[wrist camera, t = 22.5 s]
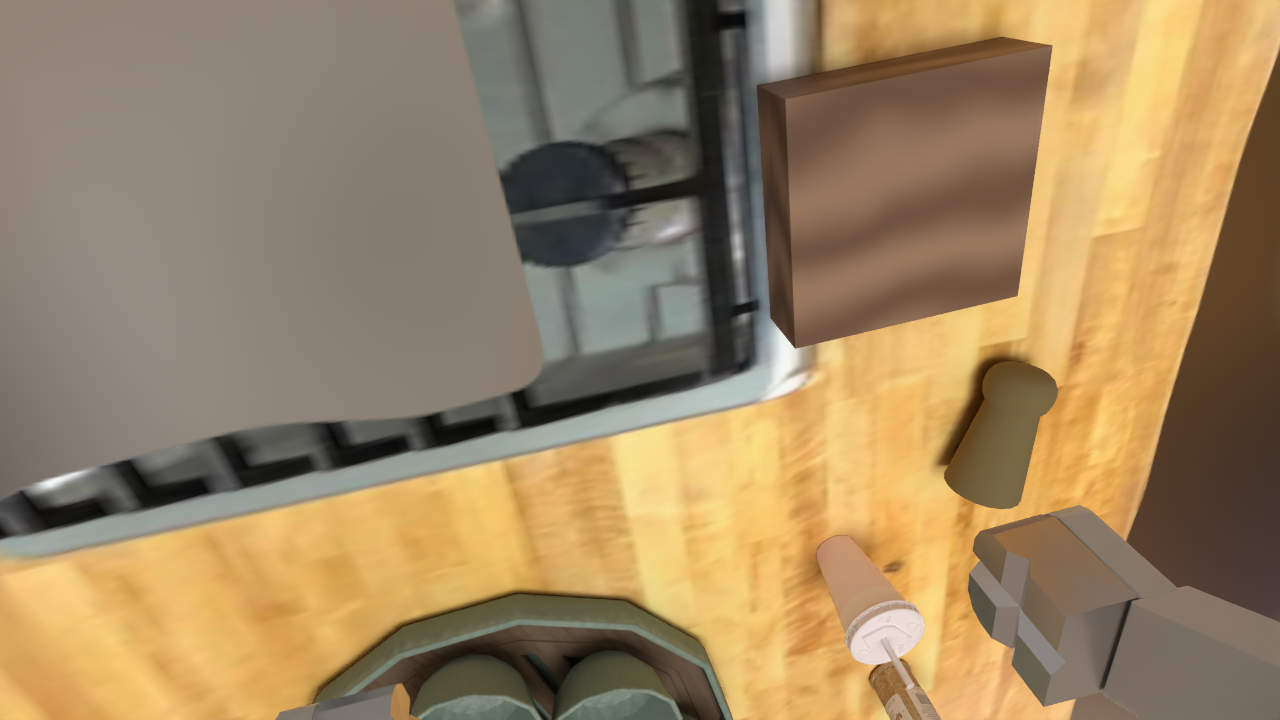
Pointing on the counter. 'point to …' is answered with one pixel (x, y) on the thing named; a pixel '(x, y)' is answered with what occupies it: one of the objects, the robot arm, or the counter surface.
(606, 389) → the counter surface
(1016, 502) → the brown tall round piece
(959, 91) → the block
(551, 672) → the tea set
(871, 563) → the smoothie
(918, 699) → the sprinkles bottle
